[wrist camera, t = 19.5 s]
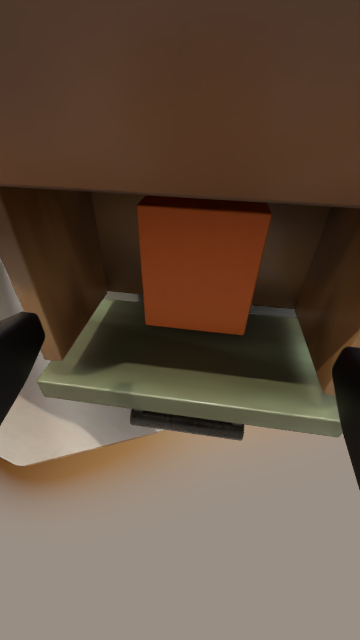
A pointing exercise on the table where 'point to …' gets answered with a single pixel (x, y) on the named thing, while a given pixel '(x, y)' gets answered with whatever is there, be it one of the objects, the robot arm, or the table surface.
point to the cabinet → (183, 98)
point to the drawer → (183, 344)
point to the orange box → (200, 261)
